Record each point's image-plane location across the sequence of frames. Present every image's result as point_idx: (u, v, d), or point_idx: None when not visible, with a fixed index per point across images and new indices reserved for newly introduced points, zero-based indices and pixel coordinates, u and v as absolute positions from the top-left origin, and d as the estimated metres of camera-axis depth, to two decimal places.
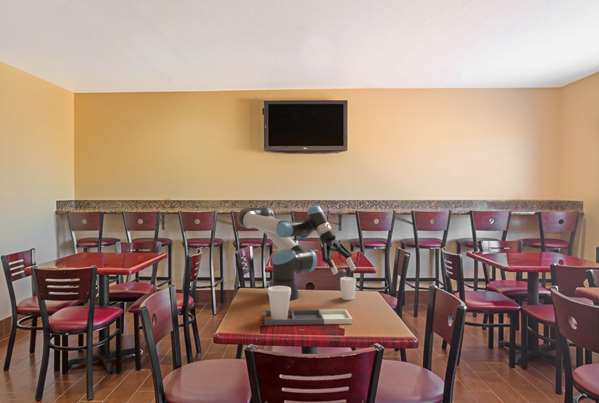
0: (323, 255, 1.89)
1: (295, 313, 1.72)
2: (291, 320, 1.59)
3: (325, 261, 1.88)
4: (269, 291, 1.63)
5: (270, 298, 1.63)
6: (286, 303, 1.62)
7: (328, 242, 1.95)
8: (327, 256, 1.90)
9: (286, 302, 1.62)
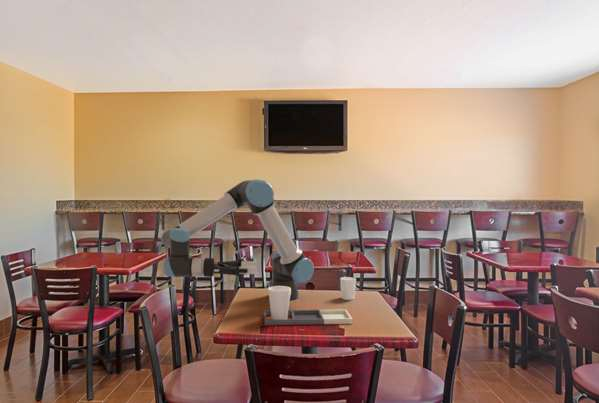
0: None
1: (295, 313, 1.72)
2: (291, 320, 1.59)
3: None
4: (269, 291, 1.63)
5: (270, 298, 1.63)
6: (286, 303, 1.62)
7: None
8: None
9: (286, 302, 1.62)
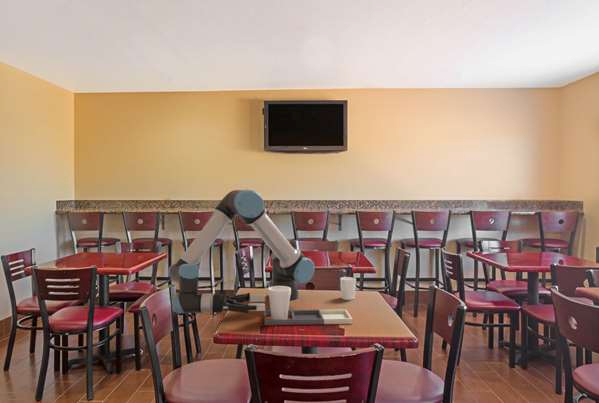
0: None
1: (295, 313, 1.72)
2: (291, 320, 1.59)
3: None
4: (269, 291, 1.63)
5: (270, 298, 1.63)
6: (286, 303, 1.62)
7: None
8: None
9: (286, 302, 1.62)
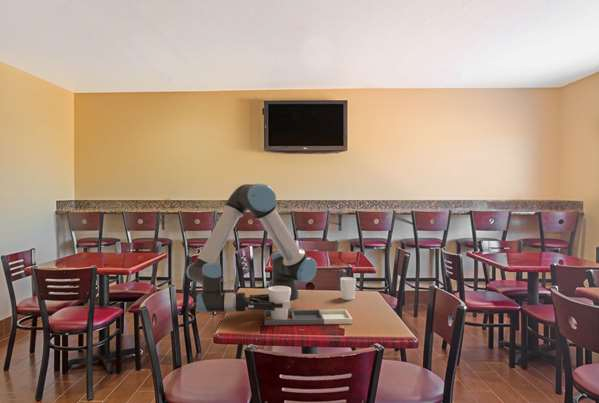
0: None
1: (295, 313, 1.72)
2: (291, 320, 1.59)
3: None
4: (269, 291, 1.63)
5: (270, 298, 1.63)
6: None
7: None
8: None
9: None
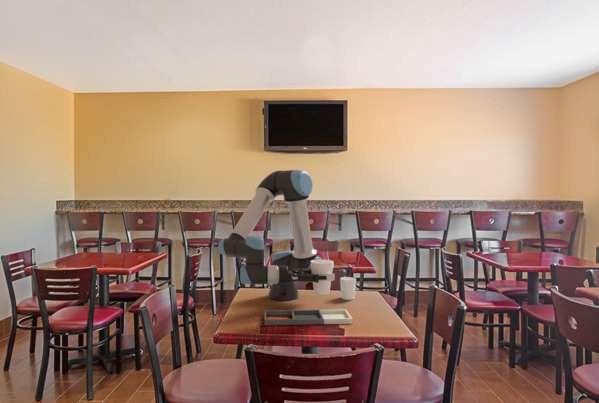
0: None
1: (295, 313, 1.72)
2: (291, 320, 1.59)
3: None
4: (312, 264, 1.62)
5: (313, 271, 1.62)
6: None
7: None
8: None
9: None
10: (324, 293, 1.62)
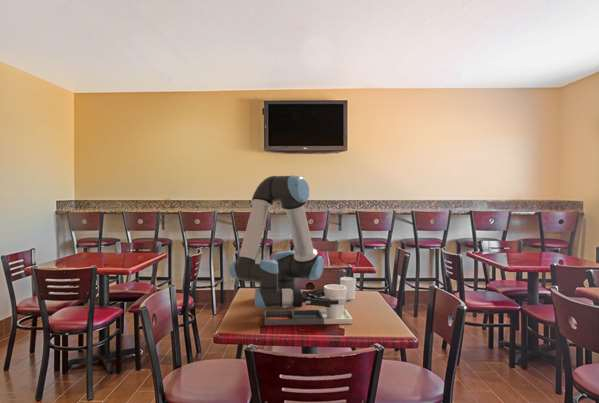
0: None
1: (295, 313, 1.72)
2: (291, 320, 1.59)
3: None
4: (326, 289, 1.65)
5: (326, 296, 1.65)
6: None
7: None
8: None
9: None
10: (337, 318, 1.64)
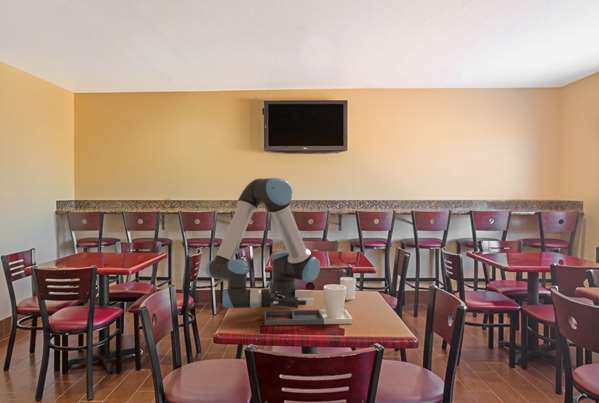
0: None
1: (295, 313, 1.72)
2: (291, 320, 1.59)
3: None
4: (325, 289, 1.65)
5: (326, 296, 1.65)
6: (342, 301, 1.64)
7: None
8: None
9: (342, 300, 1.64)
10: (337, 318, 1.64)
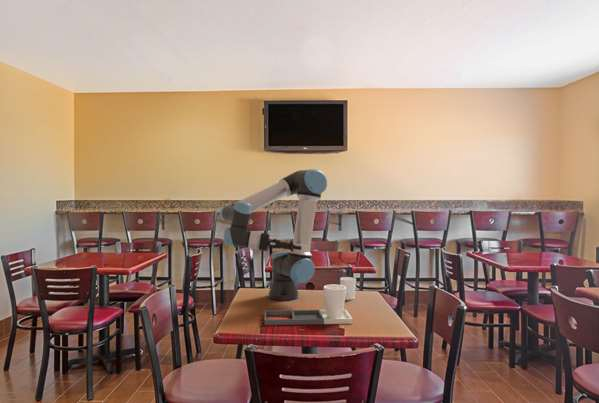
0: None
1: (295, 313, 1.72)
2: (291, 320, 1.59)
3: None
4: (325, 289, 1.65)
5: (326, 296, 1.65)
6: (342, 301, 1.64)
7: None
8: None
9: (342, 300, 1.64)
10: (337, 318, 1.64)
